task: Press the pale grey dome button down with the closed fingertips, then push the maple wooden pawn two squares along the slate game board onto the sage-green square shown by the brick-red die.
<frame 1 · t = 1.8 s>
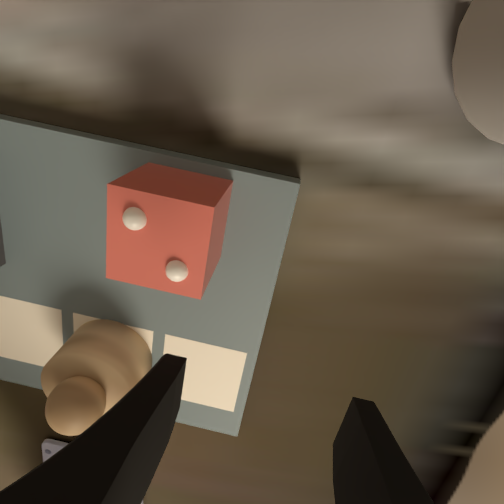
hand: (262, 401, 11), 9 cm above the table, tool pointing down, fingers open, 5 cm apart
die: (186, 211, 18), resting on board
board: (47, 272, 21), on the table
pawn: (112, 353, 22), point 1 cm above the table, touching board
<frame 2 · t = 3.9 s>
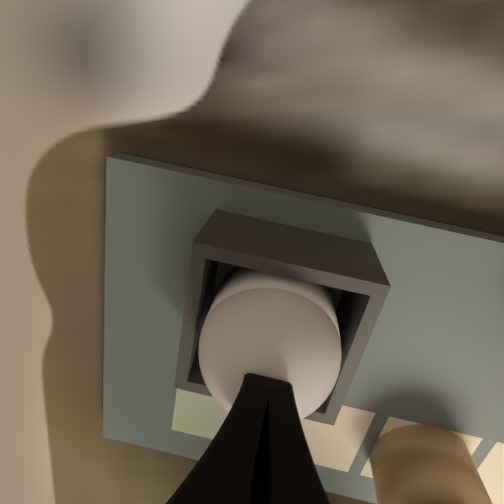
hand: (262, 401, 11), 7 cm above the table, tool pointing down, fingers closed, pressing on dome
board: (355, 369, 19), on the table
pawn: (417, 457, 20), point 1 cm above the table, touching board
dome: (269, 348, 13), point 5 cm above the table, slide at 0.2 cm, touching gripper
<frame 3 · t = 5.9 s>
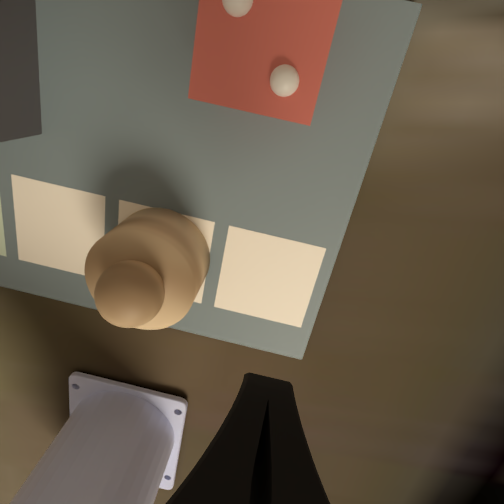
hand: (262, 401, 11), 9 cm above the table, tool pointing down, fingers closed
die: (271, 51, 14), resting on board
board: (88, 153, 18), on the table
pawn: (162, 254, 19), point 1 cm above the table, touching board
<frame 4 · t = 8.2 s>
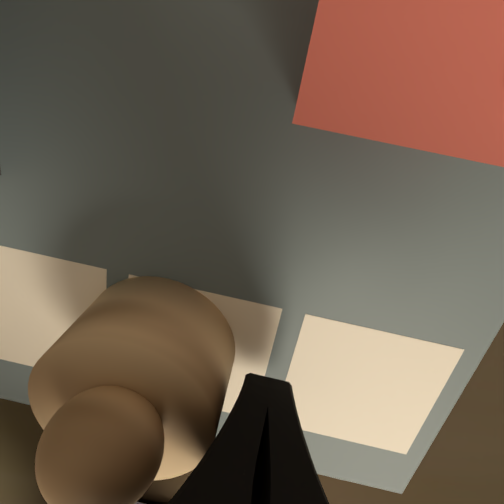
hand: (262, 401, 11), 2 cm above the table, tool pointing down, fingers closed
die: (411, 25, 8), resting on board
board: (79, 200, 11), on the table
pawn: (160, 342, 12), point 1 cm above the table, touching board, gripper
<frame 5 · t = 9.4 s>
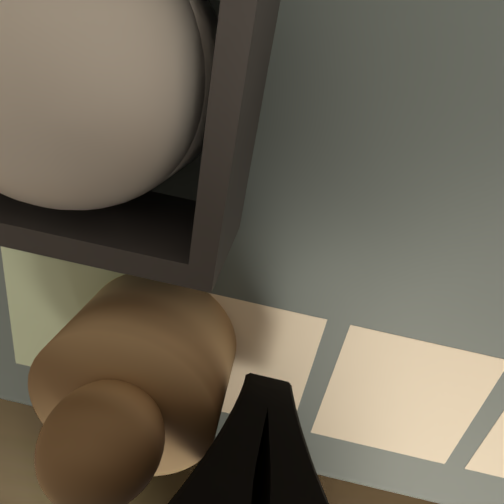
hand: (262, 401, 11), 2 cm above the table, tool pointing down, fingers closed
board: (294, 248, 11), on the table
pawn: (161, 338, 12), point 1 cm above the table, touching board, gripper
dome: (69, 70, 7), point 3 cm above the table, slide at 1.5 cm, touching board
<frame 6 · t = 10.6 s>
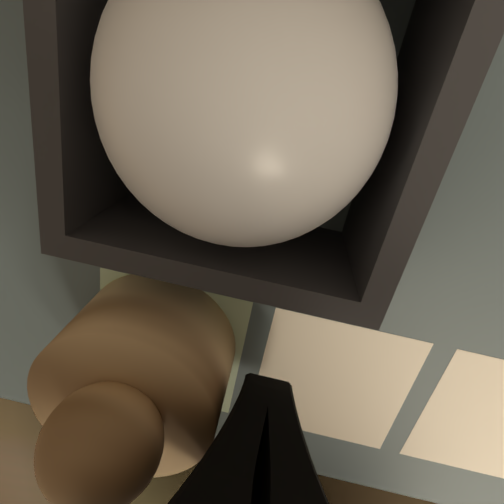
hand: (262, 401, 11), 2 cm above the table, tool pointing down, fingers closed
board: (398, 271, 11), on the table
pawn: (160, 339, 12), point 1 cm above the table, touching board, gripper
dome: (245, 105, 6), point 3 cm above the table, slide at 1.5 cm, touching board
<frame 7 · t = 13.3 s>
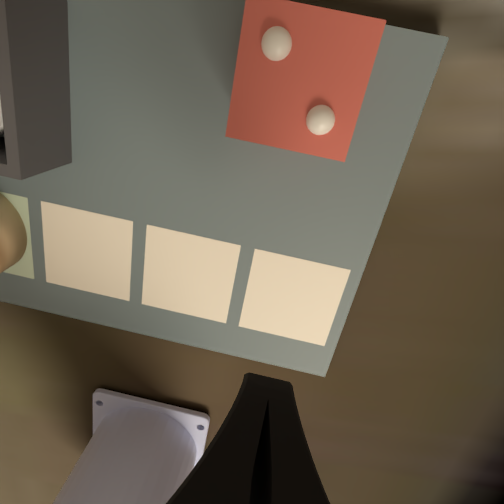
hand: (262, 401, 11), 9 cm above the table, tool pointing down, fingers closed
die: (299, 83, 15), resting on board
board: (116, 179, 19), on the table
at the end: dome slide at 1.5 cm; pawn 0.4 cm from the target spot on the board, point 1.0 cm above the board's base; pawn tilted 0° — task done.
